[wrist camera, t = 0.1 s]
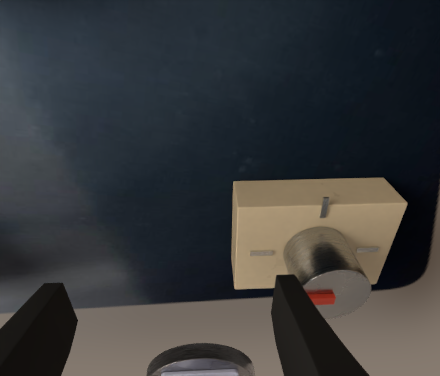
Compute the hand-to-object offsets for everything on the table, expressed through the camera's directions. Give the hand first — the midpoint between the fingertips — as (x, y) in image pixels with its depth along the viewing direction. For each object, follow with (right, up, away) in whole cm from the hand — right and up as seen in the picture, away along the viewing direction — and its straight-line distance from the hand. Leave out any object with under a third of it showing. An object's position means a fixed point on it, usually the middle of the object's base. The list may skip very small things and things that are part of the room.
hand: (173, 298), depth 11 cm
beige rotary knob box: (+7, +1, +12) cm, 14 cm away
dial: (+8, 0, +9) cm, 12 cm away
